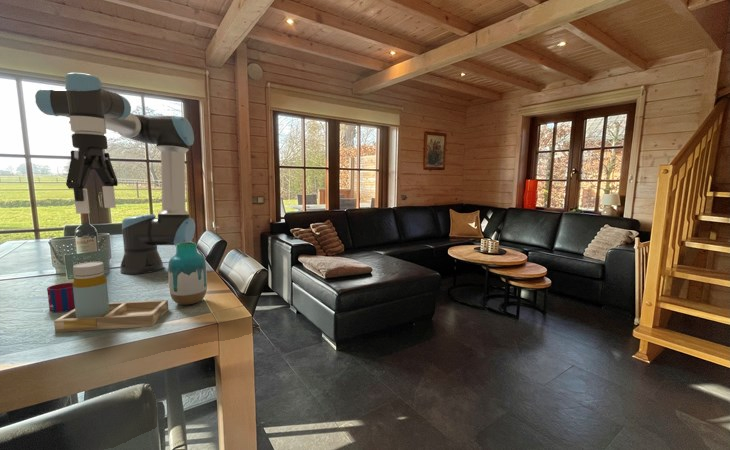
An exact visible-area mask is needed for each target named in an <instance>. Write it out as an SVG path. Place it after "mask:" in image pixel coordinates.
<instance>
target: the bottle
mask: <svg viewBox="0 0 730 450" xmlns="http://www.w3.org/2000/svg"><path fill="white" fill-rule="evenodd" d="M104 268H105V267H104V262H102V261H87V262H81V263H77V264H74V265H73V266H72V271H73V281H72V283H73V293H74V303H75V313H76V318H88V317H104V316H105V315H107V314H108V313H109V303H110V301H109V290H108V279H107V277H106V276H105V271H104V270H105V269H104Z"/></svg>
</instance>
